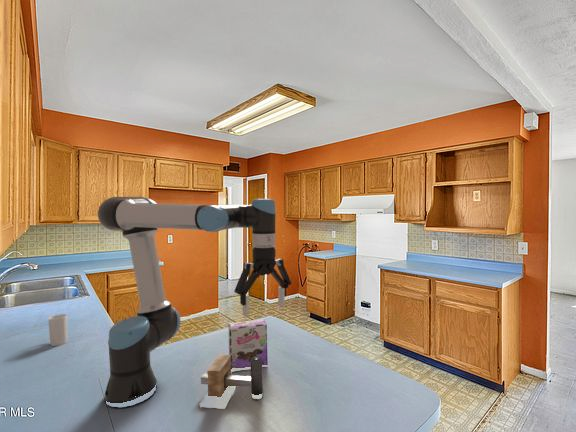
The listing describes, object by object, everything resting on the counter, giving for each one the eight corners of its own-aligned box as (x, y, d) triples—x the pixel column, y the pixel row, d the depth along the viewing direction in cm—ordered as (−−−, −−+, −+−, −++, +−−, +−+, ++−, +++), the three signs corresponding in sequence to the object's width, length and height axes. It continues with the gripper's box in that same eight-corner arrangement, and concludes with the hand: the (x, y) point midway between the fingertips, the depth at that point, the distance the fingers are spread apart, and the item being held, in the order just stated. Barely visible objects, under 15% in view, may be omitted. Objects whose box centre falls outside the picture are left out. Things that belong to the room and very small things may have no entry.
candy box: (230, 373, 112) (229, 328, 112) (229, 365, 118) (227, 322, 118) (268, 367, 116) (267, 323, 116) (265, 360, 122) (263, 318, 121)
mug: (71, 341, 143) (70, 315, 143) (55, 347, 137) (53, 320, 137) (58, 337, 147) (57, 312, 147) (42, 343, 141) (41, 317, 141)
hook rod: (200, 395, 99) (199, 358, 99) (205, 389, 103) (204, 353, 102) (261, 400, 96) (260, 361, 96) (264, 393, 100) (263, 356, 99)
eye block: (199, 407, 94) (198, 373, 93) (216, 381, 107) (216, 351, 107) (224, 409, 92) (223, 375, 92) (239, 383, 106) (238, 352, 106)
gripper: (233, 250, 92) (234, 322, 93) (301, 244, 106) (301, 306, 107) (223, 248, 98) (224, 314, 99) (288, 242, 112) (288, 300, 113)
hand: (264, 310), depth 103 cm, fingers open, 13 cm apart
